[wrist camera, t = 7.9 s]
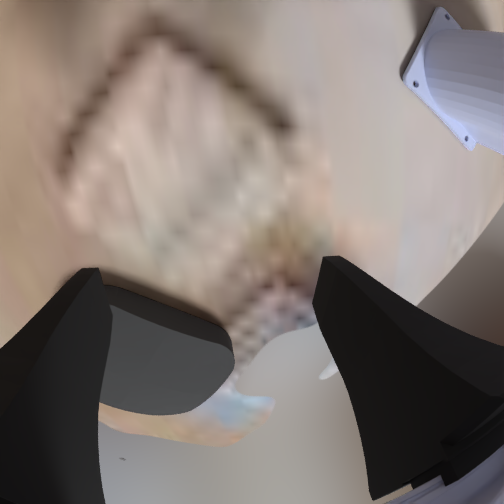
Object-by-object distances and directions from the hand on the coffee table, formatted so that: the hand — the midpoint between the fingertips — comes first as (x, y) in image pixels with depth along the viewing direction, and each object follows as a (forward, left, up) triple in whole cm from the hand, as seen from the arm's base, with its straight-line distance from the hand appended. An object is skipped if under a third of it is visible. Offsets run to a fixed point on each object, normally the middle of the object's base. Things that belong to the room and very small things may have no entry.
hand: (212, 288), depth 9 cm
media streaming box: (0, +17, -10) cm, 20 cm away
